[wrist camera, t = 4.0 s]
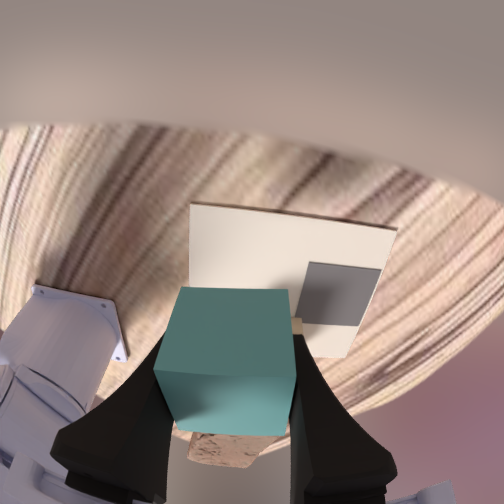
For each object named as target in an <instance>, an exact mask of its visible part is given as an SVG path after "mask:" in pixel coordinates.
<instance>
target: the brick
mask: <svg viewBox="0 0 504 504" xmlns="http://www.w3.org/2000/svg"><path fill="white" fill-rule="evenodd" d="M287 426H289V417H288V422H287ZM287 426H286V427H287ZM278 437H279V436H251V435H228V434H213V433H202V432H193V434H192V437H191V441H190V445H189V449H188V453H187V458H188V459H190V460H193V461H195V462H200V463H204V464H211V465H219V466H230V467H241V468H246V467H248V466H250V465H251V464H252V463H253V461H254V460H255V458H256V457H257V456H258V455H259V453H260V452H262V451H263V450H264V449H266V448H267V447H268V446H269V445H270V444H271V443H272V442H274V441H275V440H276V439H277V438H278Z"/></svg>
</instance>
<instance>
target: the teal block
mask: <svg viewBox="0 0 504 504" xmlns="http://www.w3.org/2000/svg"><path fill="white" fill-rule="evenodd" d="M153 370H154V373H155V375H156V378H157V380H158V383H159V385H160V388H161V390H162V393H163V395H164V398H165V400H166V402H167V405H168V407H169V409H170V412H171V414H172V416H173V418H174V421H175V423H176V425H177V427H178V429H179V430H184V431H192V432H202V433H213V434H228V435H251V436H285V431H286V426H287V422H288V417H289V412H290V407H291V402H292V397H293V392H294V387H295V381H296V366H295V355H294V344H293V333H292V323H291V313H290V304H289V294H288V289H245V288H206V287H181V289H180V292H179V295H178V298H177V300H176V303H175V306H174V309H173V312H172V315H171V317H170V320H169V323H168V326H167V329H166V332H165V335H164V338H163V341H162V344H161V347H160V350H159V353H158V356H157V359H156V362H155V365H154V368H153Z"/></svg>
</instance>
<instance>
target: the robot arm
mask: <svg viewBox="0 0 504 504" xmlns="http://www.w3.org/2000/svg"><path fill="white" fill-rule="evenodd" d="M31 289H32V292H33V295H32V297H31V298H30V299H29V300H28V302H27V303H26V304H25V305H24V307H23V308H22V309H21V310H20V312H19V313H18V314H17V316H16V317H15V318H14V320H13V321H12V322H11V324H10V325H9V326H8V328H7V329H6V330H5V332H4V334H3V336H2V338H1V341H0V504H164V503H165V502H166V490H167V470H168V457H169V448H170V441H171V433H172V427H173V423H174V418H173V416H172V414H171V412H170V409H169V407H168V405H167V402H166V400H165V398H164V395H163V393H162V390H161V388H160V385H159V383H158V380H157V378H156V375H155V373H154V370H153V368H154V365H155V362H156V359H157V356H158V353H159V350H160V347H161V344H162V341H163V338H164V335H165V333H164V334H163V335H162V337H161V338H160V340H159V341H158V342H157V344H156V345H155V346H154V348H153V349H152V350H151V352H150V353H149V354H148V356H147V357H146V358H145V359H144V361H143V362H142V363H141V364H140V365H139V367H138V368H137V369H136V370H135V371H134V372H133V373H132V375H131V376H130V377H129V378H128V379H127V380H126V381H125V382H124V383H123V384H122V385H121V386H120V387H119V388H118V389H117V390H116V391H115V392H114V393H113V394H112V395H110V396H109V397H108V398H107V399H106V400H105V401H103V402H102V403H101V404H100V405H99V406H97V407H96V408H94V409H93V410H92V411H90V412H89V410H90V407H91V405H92V402H93V400H94V397H95V395H96V392H97V390H98V388H99V385H100V383H101V380H102V378H103V376H104V373H105V371H106V369H107V366H108V364H109V362H110V359H111V360H115V361H120V362H127V361H128V356H127V352H126V348H125V345H124V341H123V337H122V333H121V329H120V324H119V320H118V316H117V311H116V306H115V303H114V302H113V301H111V300H108V299H102V298H97V297H92V296H87V295H82V294H77V293H72V292H68V291H63V290H58V289H54V288H49V287H45V286H41V285H36V284H34V285H33V286H32V287H31ZM104 304H105V305H104ZM165 332H166V331H165ZM293 344H294V355H295V366H296V381H295V387H294V392H293V397H292V402H291V407H290V412H289V425H290V436H291V490H290V504H456V500H455V495H454V491H453V487H452V483H451V480H446V481H443V482H441V483H438V484H435V485H432V486H429V487H427V488H424V489H422V490H421V491H419V492H418V493H417V494H414V495H410V496H407V497H403V498H399V499H395V500H392V501H387V502H385V495H384V494H386V492H387V490H386V485H387V484H388V483H389V482H391V481H392V480H393V479H394V478H395V477H396V476H397V469H396V465H395V462H394V459H393V457H392V455H391V453H390V452H389V451H388V450H386V449H385V448H384V447H382V446H381V445H380V444H379V443H378V442H376V441H375V440H374V439H373V438H372V437H371V436H370V435H369V434H368V433H367V432H366V431H365V430H364V429H363V428H362V427H361V426H360V425H359V424H358V423H357V422H356V421H355V420H354V419H353V418H352V417H351V415H350V414H349V413H348V412H347V411H346V409H345V408H344V407H343V406H342V404H341V403H340V402H339V400H338V399H337V398H336V396H335V395H334V393H333V392H332V390H331V389H330V387H329V386H328V384H327V383H326V381H325V379H324V378H323V376H322V374H321V372H320V371H319V369H318V367H317V365H316V363H315V361H314V359H313V357H312V355H311V353H310V351H309V349H308V346H307V344H306V341H305V338H304V336H303V335H302V334H293Z"/></svg>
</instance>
